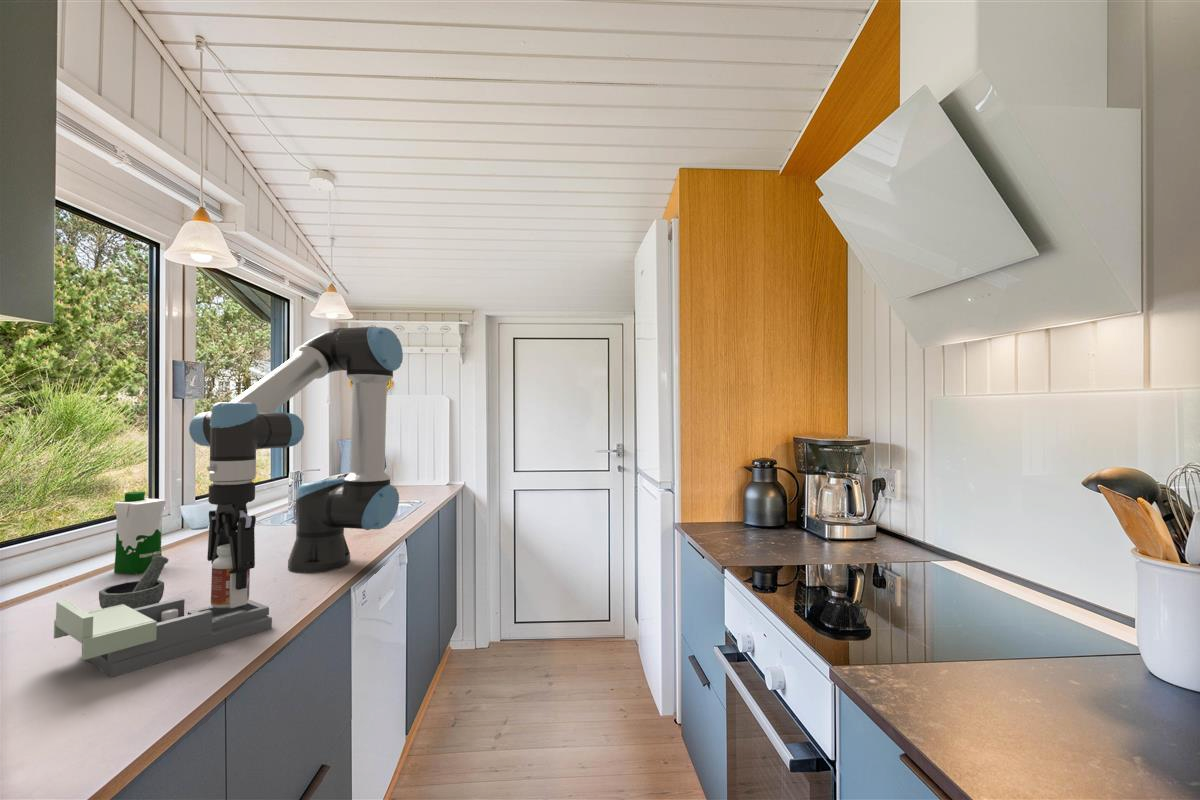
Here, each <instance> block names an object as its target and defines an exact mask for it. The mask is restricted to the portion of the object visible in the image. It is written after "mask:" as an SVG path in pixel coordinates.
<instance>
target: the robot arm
mask: <svg viewBox="0 0 1200 800" xmlns="http://www.w3.org/2000/svg"><path fill="white" fill-rule="evenodd" d="M403 356H404V354H403V347H402V344H401V341H400V339H399V338H398V336H397V334H396V333H395V332H394V331H393V330H392V329H390V328H387V327H382V326H363V327H361V326H360V327H336V328H332V329H330V330H327V331H324V332H322V333H320V334H319V335H316V336H314V337H312V338H311V339H309V340H307V341H305V342H304V343H303V344H302V345H300V346H298V347H296V349H295V350H294V352H293V356H292V357H290V358H289V359H288V360H286V361H285V362H284V363H282V364H281V365H280V366H278V367H276V368H275V369H274V370H272V371H271V372H270V373H268V374H266V375H265V376H264V377H263V378H261V379H260V380H259V381H257V382H255V383H254V384H252V385H251V386H250V387H249V388H248V389H246V390H245V391H243V392H242V393H241V394H239V395H237V396H236V397H235V398H234V399H232V400H231V401H229V402H227V401H225V402H220V401H219V402H216V403H214V404H213V405H212V408H211V410H209V411H206V412H205V411H204V412H199V413H198V414H196V415H195V416H194V417H193V418H192V419H191V421H190V423H189V428H188V431H189V436H190V437H191V440H192V441H193V442H194V443H195V444H197V445H199V446H202V447H209V466H207V468H206V470H207V471H208V472H209V475H208V477H209V479H208V480H209V481H210V482H213V483H211V484H209V485H208V500H207V501H208V503H209V504H211V505H215V506H216V509H215V510H209V511H208V519H209V525H208V526H209V527H208V528H209V529H208V543H207V557H206V558H207V561H208V562H211V564H212V563H213V561H214V560H215V559H217V558H218V557H219V556H218V555H217V547H218V546H221V545H225V544H230V550H231V558H232V566H233V570H231V571H229V574H230V601H229V607H230V608H234V607H238V606H242V605H245V604H247V577H248V570H249V569H250V570H251V569H255V567H256V561H255V560H256V557H255V556H256V555H255V554H256V553H255V552H256V549H255V543H256V540H255V527H256V521H257V518H256V517H257V516H256V515H249V514H248V507H247V504H248V503H251V502H253V501H255V498H256V483H255V482H254V481H253V480H255V479H256V478H257V476H256V475H257V450H262V449H264V450H265V449H286V448H291V447H293V446H296V445H298V444H299V443H300V442H301V441H302V439H303V437H304V434H305V425H304V423H303V420H302V419H301V417H300V416H298V415H297V414H294V413H292V412H291V413H290V412H285V411H283V412H276V411H277V410H278V409H279V408H280V407H282V406H283V405H284V404H286V403H287V402H288V401H289V400H291V399H292V398H293V397H294V396H295V395H297V394H298V393H300V391H302V390H303V389H304V388H305V387H307V386H308V385H310V383H311V382H313V381H315V379H317V380H318V379H322V378H324V377H325V376H327V375H328V374H331V373H333V372H338V371H340V372H341V371H346V377H347V378H348V379H349V380H350V381H351V382H352V388H351V390H352V396H351V397H352V398H351V427H350V428H351V429H350V458H349V460H350V464H349V467H350V468H349V473H348V474H347V475H346V476H345V477H342V478H341V477H339V478H338V477H337V478H330V479H323V480H321V479H320V480H316V481H308V482H303V483H301V484H300V485H299V486H298V487H297V495H296V499H295V500H296V518H295V519H296V523H295V524H296V526H295V529H296V531H295V532H296V533H295V541H294V544H293V546H292V548H291V551H290V553H289V558H288V560H287V569H288V570H289V571H290V572H294V573H320V572H327V571H332V570H338V569H341V568H344V567H346V566H348V565H349V564H350V563H351V552H350V550H349V546H348V543H347V542H346V541H347V539H346V538H345V529H357V530H365V531H370V530H381V529H385V528H386V527H387V526H389V525H390V524H391V522H392V521H393V519H394V518H395V516H396V515H397V512H398V509H399V504H400V494H399V491H398V489H397V487H396V486H394V485H391V477H390V476H389V475H388V474H387V473H386V471H385V469H386V467H385V464H386V463H385V461H386V429H387V428H386V426H387V398H388V397H387V394H388V393H387V391H388V390H387V389H388V384H389V382H391V380H392V379H393V378H394V371H397V370H398V369H399V368H400V367H401V365H402V363H403V358H404V357H403Z"/></svg>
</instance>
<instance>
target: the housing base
mask: <svg viewBox="0 0 1200 800" xmlns="http://www.w3.org/2000/svg"><path fill="white" fill-rule="evenodd" d="M185 603H186V601H185V598H183V597H179V598H174V599H169V600H166V601H162V602H161V601H160V602H159V603H156V604H152V605H148V606H143V607H139V608H135V609H134V610H136V611H138V612H139V613H141V614H143V615H145V616H147V617H149V618H151V619H153V620H155V621H157V633H156V640H154V641H151V642H147V643H144V644H140V645H136V646H133V647H129V648H125V649H122V650H118V651H115V652H111V653H107V654H104V655H100V656H96V657H93V658H89V659H86V660H87V661H89V662H90V663H92V665H94V666H95V667H97V668H98V669H99V670H101V671H102V672H104V673H105V674H106V675H107V676H109V677H111V678H114V677H117V676H120V675H123V674H126V673H130V672H132V671H137V670H140V669H143V668H146V667H150V666H152V665H157V664H159V663H163V662H165V661H169V660H172V659H175V658H179V657H182V656H185V655H189V654H192V653H196V652H198V651H202V650H206V649H208V648H212V647H215V646H218V645H221V644H226V643H228V642H231V641H235V640H238V639H241V638H245V637H247V636H251V635H254V634H257V633H260V632H261V633H262V632H264V631H267V629H268V630H271V629H272V626H273V617H271V616H270V607H269V606H267V605H265V604H263V603H260V602H257V601H254V600H252V599H249V600H248V601H247V604H245V605H242V606H238V607H234V608H230V607H229V608H215V607H212V605H210V606H206V607H202V608H197V609H194V610H191V611H187V615H185ZM270 628H271V629H270ZM82 652H83V644H82V643H81V653H82Z"/></svg>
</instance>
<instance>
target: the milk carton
mask: <svg viewBox="0 0 1200 800" xmlns="http://www.w3.org/2000/svg"><path fill="white" fill-rule="evenodd" d="M166 503H167V499H160V498H145V492H144V491H132V492H131V491H130V492H126V493H124V500H120V501H116V502H113V504H114V510H115V518H116V532H115V559H114V567H113V568H114V571H113V573H117V574H127V575H138V574H144V573H145V571H146V570H147V568H148V567H149V565H150V564H151V562H152V557H153V556H162V532H163V530H162V527H163V525H162V523H163V513H164V511H165V506H166Z"/></svg>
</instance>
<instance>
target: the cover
mask: <svg viewBox="0 0 1200 800" xmlns="http://www.w3.org/2000/svg"><path fill="white" fill-rule="evenodd" d="M55 607H56V608H55V618H54V620H53V639H60V638H62V637H67V636H70V637H72V638H73V639H74V640H76V641H77V642H79V643H80V644H81V645H82V644H83V652H82V651H81V657H82V658H81V659H82V660H83V661H85V660H87V659H89V658H93V657H96V656H100V655H104V654H107V653H111V652H115V651H118V650H122V649H125V648H129V647H133V646H136V645H140V644H144V643H147V642H151V641H154V640H156V633H157V621H155V620H153V619H151V618H149V617H147V616H145V615H143V614H141V613H139V612H138V611H136V610H134V609H132V608H130V607H128V606H126V605H124V604H122V605H117V606H113V607H108V608H104V609H102V608H99V609H96V610H91V611H85V610H84V609H82V608H80V607H78V606H77V605H75V604H74V603H73V602H70V601H68V599H66V600H61V601H56V606H55Z"/></svg>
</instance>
